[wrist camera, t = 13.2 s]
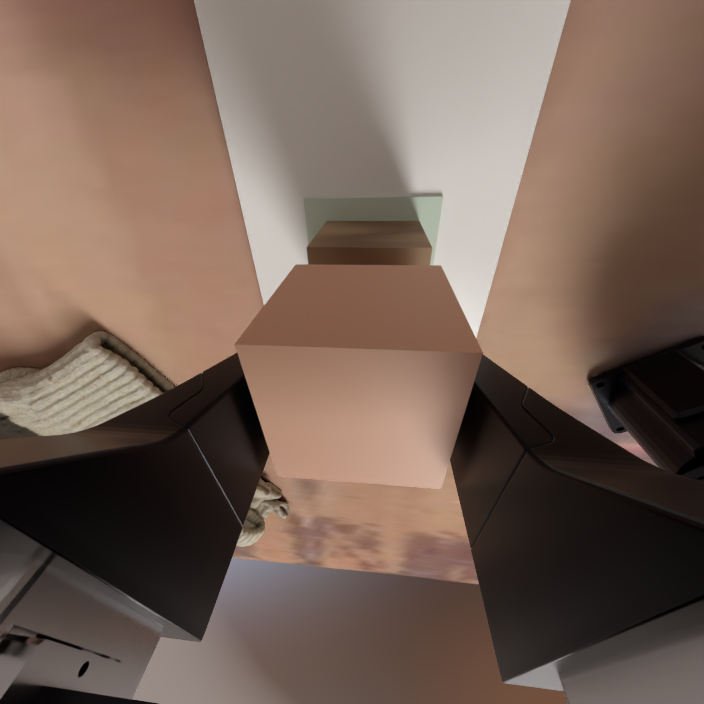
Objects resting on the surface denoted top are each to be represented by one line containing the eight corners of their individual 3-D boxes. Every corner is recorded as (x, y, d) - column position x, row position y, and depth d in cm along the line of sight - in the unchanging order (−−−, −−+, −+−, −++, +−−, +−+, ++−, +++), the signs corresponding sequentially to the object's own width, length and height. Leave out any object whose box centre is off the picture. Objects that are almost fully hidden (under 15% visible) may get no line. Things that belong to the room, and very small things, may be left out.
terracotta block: (440, 265, 9) (482, 353, 5) (422, 378, 11) (441, 488, 8) (295, 264, 9) (234, 344, 5) (311, 373, 12) (277, 476, 8)
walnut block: (419, 220, 13) (432, 247, 10) (409, 305, 16) (417, 351, 13) (326, 220, 14) (306, 247, 10) (332, 304, 17) (317, 348, 13)
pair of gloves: (-51, 393, 28) (-127, 436, 24) (120, 317, 21) (54, 360, 17) (165, 526, 44) (142, 567, 40) (309, 510, 36) (299, 558, 32)
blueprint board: (449, 412, 23) (452, 426, 22) (293, 404, 24) (288, 417, 23) (601, -171, 8) (636, -222, 7) (182, -120, 9) (154, -157, 8)
